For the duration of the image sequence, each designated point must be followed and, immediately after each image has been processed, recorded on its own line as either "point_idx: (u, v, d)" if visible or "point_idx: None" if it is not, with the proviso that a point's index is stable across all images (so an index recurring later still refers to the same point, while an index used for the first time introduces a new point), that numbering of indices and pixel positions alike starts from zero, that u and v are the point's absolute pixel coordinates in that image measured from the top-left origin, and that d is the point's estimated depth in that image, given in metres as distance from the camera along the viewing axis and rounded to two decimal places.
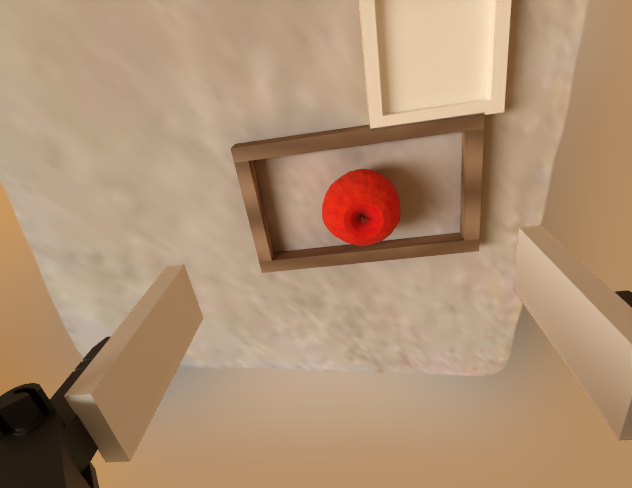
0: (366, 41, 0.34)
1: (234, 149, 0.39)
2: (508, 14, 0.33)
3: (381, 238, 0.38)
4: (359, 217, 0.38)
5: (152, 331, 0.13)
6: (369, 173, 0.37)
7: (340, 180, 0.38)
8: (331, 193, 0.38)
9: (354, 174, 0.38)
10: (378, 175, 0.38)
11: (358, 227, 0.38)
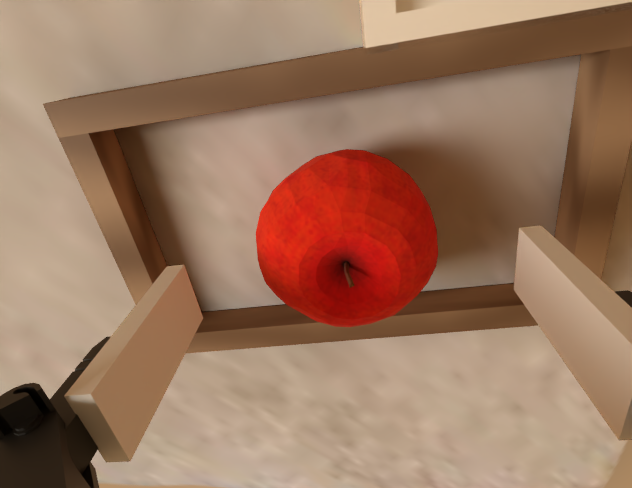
0: None
1: (51, 106, 0.17)
2: None
3: (392, 314, 0.16)
4: (339, 266, 0.16)
5: (152, 331, 0.13)
6: (362, 159, 0.15)
7: (293, 176, 0.16)
8: (271, 209, 0.16)
9: (327, 161, 0.15)
10: (385, 164, 0.15)
11: (337, 290, 0.15)
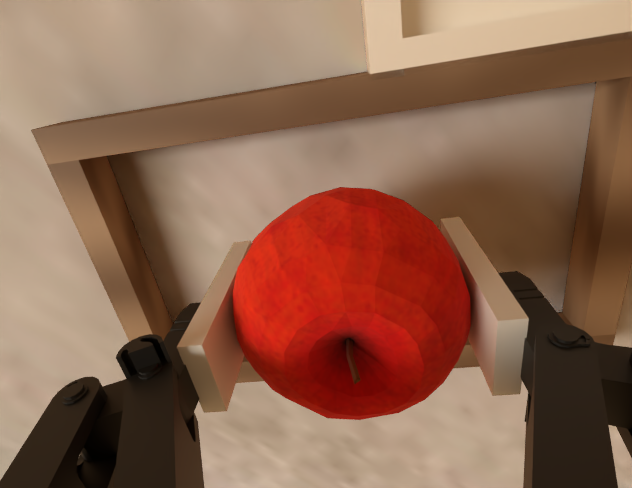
0: None
1: (40, 132, 0.16)
2: None
3: None
4: (340, 345, 0.12)
5: None
6: (370, 204, 0.11)
7: (278, 225, 0.12)
8: (249, 269, 0.12)
9: (324, 206, 0.11)
10: (402, 209, 0.11)
11: (337, 377, 0.12)
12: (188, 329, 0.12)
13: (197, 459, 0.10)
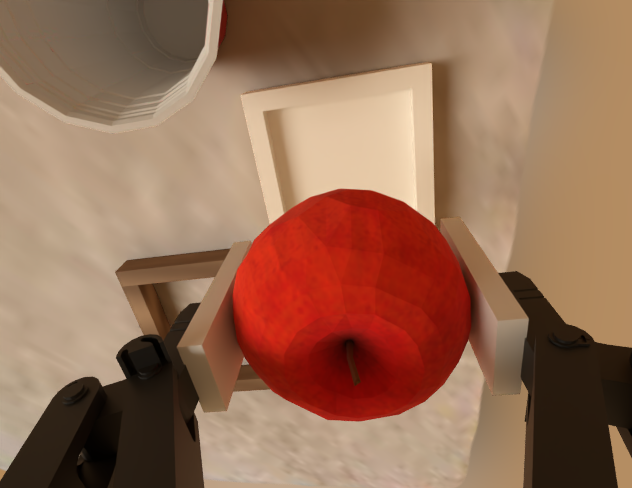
0: (260, 162, 0.28)
1: (119, 273, 0.33)
2: (430, 135, 0.26)
3: None
4: (340, 347, 0.12)
5: None
6: (371, 206, 0.11)
7: (278, 227, 0.12)
8: (249, 271, 0.12)
9: (324, 207, 0.11)
10: (402, 211, 0.11)
11: (337, 379, 0.12)
12: (188, 329, 0.12)
13: (197, 459, 0.10)
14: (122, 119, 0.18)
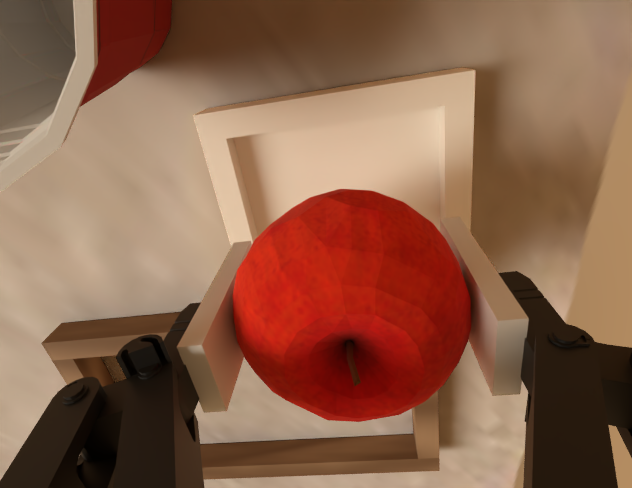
0: (225, 208, 0.20)
1: (47, 344, 0.25)
2: (468, 173, 0.18)
3: None
4: (340, 347, 0.12)
5: None
6: (370, 206, 0.11)
7: (278, 227, 0.12)
8: (249, 271, 0.12)
9: (324, 207, 0.11)
10: (402, 211, 0.11)
11: (337, 379, 0.12)
12: (188, 329, 0.12)
13: (197, 459, 0.10)
14: None
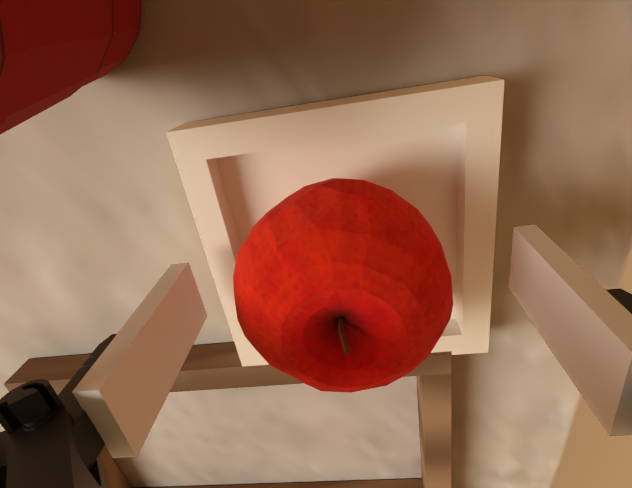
0: (207, 238, 0.17)
1: (10, 385, 0.22)
2: (492, 200, 0.15)
3: None
4: (332, 323, 0.13)
5: (157, 328, 0.13)
6: (359, 192, 0.12)
7: (275, 213, 0.13)
8: (248, 253, 0.13)
9: (317, 194, 0.12)
10: (388, 197, 0.12)
11: (330, 352, 0.13)
12: (91, 370, 0.11)
13: None
14: None
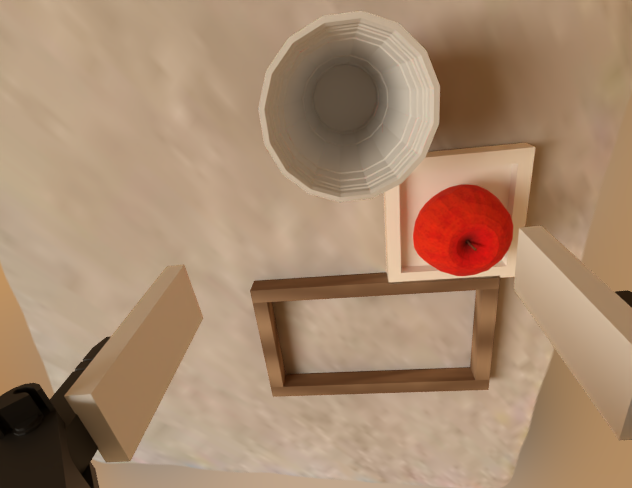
0: (389, 211, 0.35)
1: (253, 292, 0.40)
2: (526, 198, 0.34)
3: (488, 268, 0.32)
4: (464, 242, 0.31)
5: (152, 331, 0.13)
6: (479, 190, 0.31)
7: (442, 197, 0.31)
8: (431, 213, 0.31)
9: (461, 190, 0.31)
10: (489, 192, 0.31)
11: (463, 254, 0.31)
12: (84, 373, 0.11)
13: None
14: (346, 192, 0.25)
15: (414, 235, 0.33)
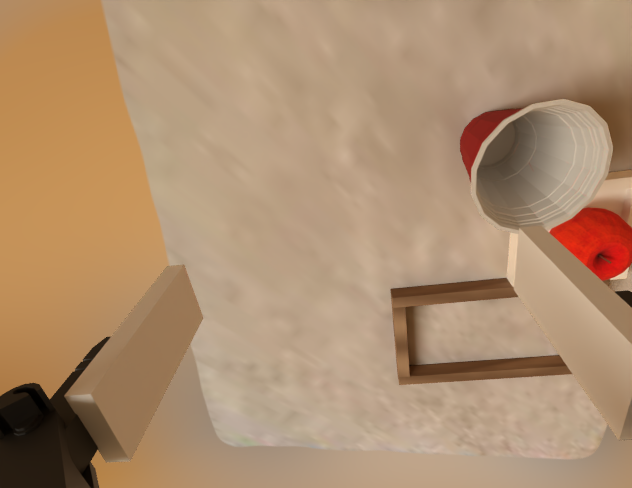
0: None
1: (395, 298, 0.48)
2: None
3: (615, 276, 0.39)
4: (597, 256, 0.38)
5: (152, 331, 0.13)
6: (609, 213, 0.38)
7: (577, 219, 0.38)
8: (569, 233, 0.38)
9: (593, 213, 0.38)
10: (616, 214, 0.38)
11: (597, 265, 0.38)
12: (83, 373, 0.11)
13: None
14: (524, 226, 0.33)
15: None
